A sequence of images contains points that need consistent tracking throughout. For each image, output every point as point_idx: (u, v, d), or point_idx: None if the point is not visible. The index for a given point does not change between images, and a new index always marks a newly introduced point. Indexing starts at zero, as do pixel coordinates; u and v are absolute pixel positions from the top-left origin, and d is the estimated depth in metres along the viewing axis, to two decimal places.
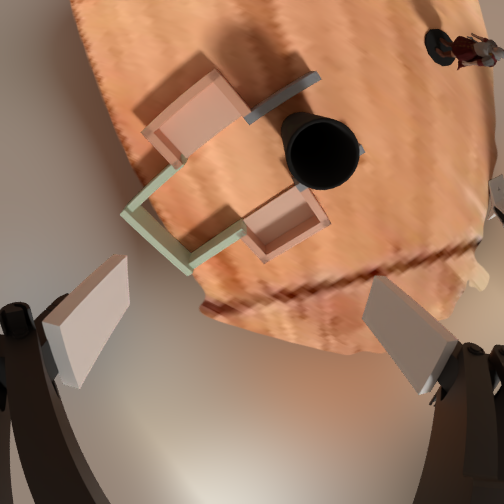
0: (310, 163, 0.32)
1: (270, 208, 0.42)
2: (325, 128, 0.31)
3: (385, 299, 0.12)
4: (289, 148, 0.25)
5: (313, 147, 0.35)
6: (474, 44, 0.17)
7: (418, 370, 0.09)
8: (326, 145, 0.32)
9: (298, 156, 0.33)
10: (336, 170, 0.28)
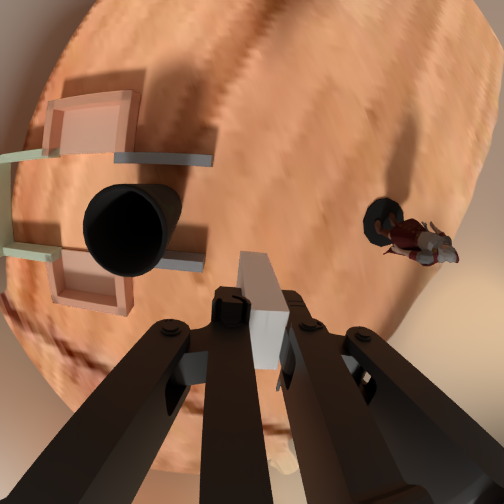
0: (131, 239, 0.26)
1: (87, 258, 0.32)
2: None
3: None
4: (94, 199, 0.19)
5: (156, 230, 0.31)
6: (423, 232, 0.25)
7: None
8: (162, 235, 0.28)
9: (128, 225, 0.27)
10: (136, 261, 0.23)
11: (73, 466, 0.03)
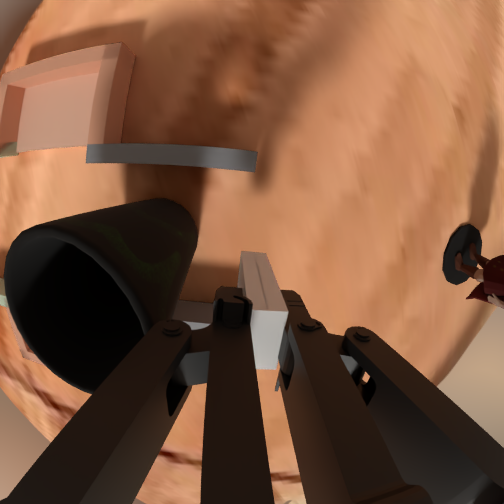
0: (109, 299, 0.15)
1: None
2: None
3: None
4: (11, 253, 0.07)
5: None
6: None
7: None
8: None
9: (107, 272, 0.16)
10: (110, 357, 0.11)
11: (74, 466, 0.03)
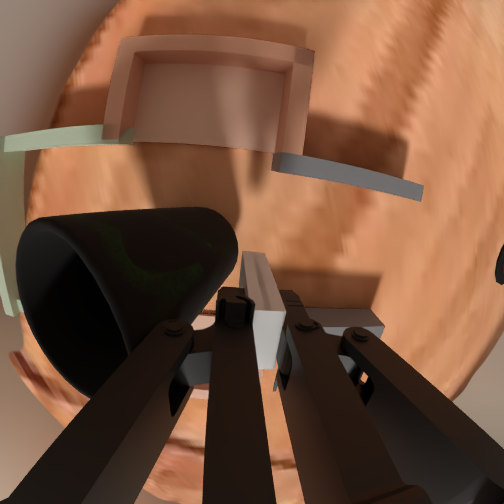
0: None
1: None
2: None
3: None
4: (20, 242, 0.08)
5: None
6: None
7: None
8: None
9: None
10: (114, 363, 0.11)
11: (76, 467, 0.03)
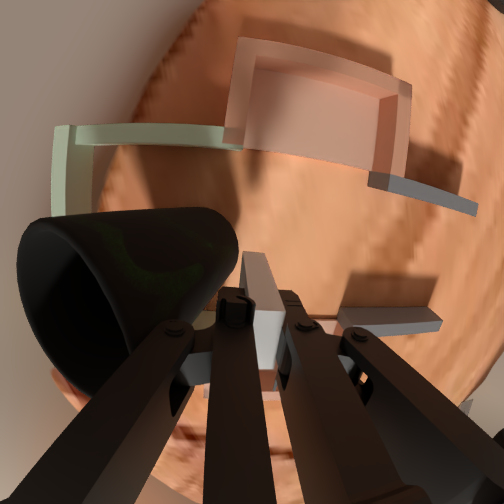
0: None
1: None
2: None
3: None
4: (21, 243, 0.08)
5: None
6: None
7: None
8: None
9: None
10: (115, 363, 0.11)
11: (76, 467, 0.03)
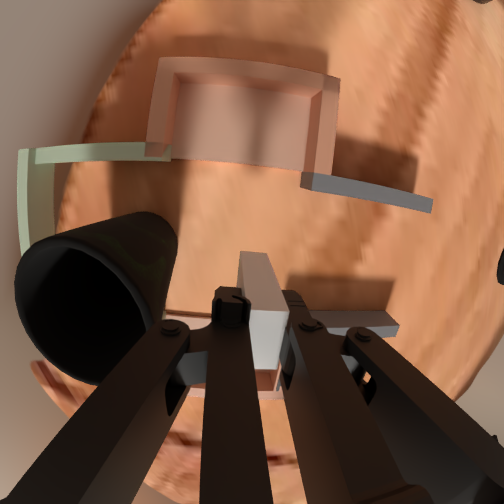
0: (103, 304, 0.16)
1: None
2: None
3: None
4: (22, 262, 0.09)
5: None
6: None
7: None
8: None
9: (99, 280, 0.17)
10: (110, 353, 0.13)
11: (73, 466, 0.03)
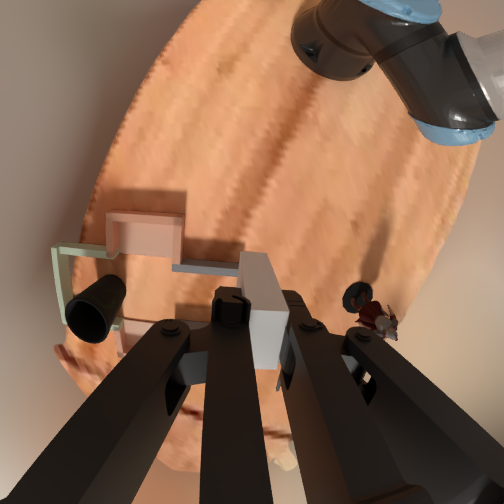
0: (95, 315, 0.40)
1: (146, 326, 0.47)
2: None
3: None
4: (68, 304, 0.32)
5: None
6: (379, 316, 0.41)
7: None
8: None
9: (93, 304, 0.41)
10: (96, 332, 0.36)
11: (73, 466, 0.03)
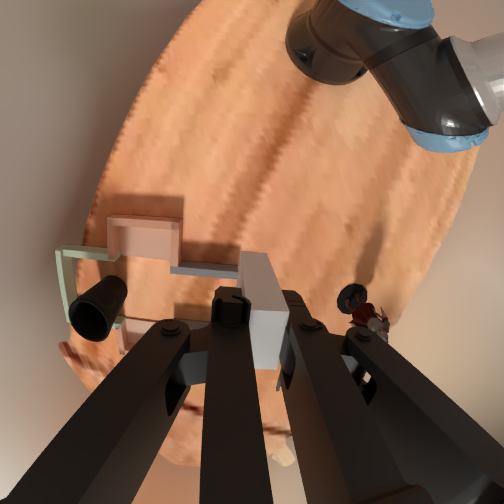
0: (97, 314, 0.42)
1: (147, 325, 0.49)
2: None
3: None
4: (71, 304, 0.34)
5: None
6: (371, 318, 0.42)
7: None
8: None
9: None
10: (99, 331, 0.38)
11: (73, 466, 0.03)
